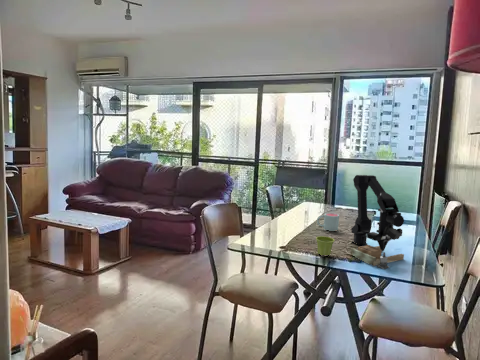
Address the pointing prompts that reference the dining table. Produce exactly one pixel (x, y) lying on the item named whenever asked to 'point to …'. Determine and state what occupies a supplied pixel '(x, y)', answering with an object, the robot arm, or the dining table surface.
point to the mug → (330, 221)
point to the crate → (370, 251)
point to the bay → (373, 260)
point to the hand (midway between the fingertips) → (382, 250)
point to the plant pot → (324, 245)
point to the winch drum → (383, 262)
